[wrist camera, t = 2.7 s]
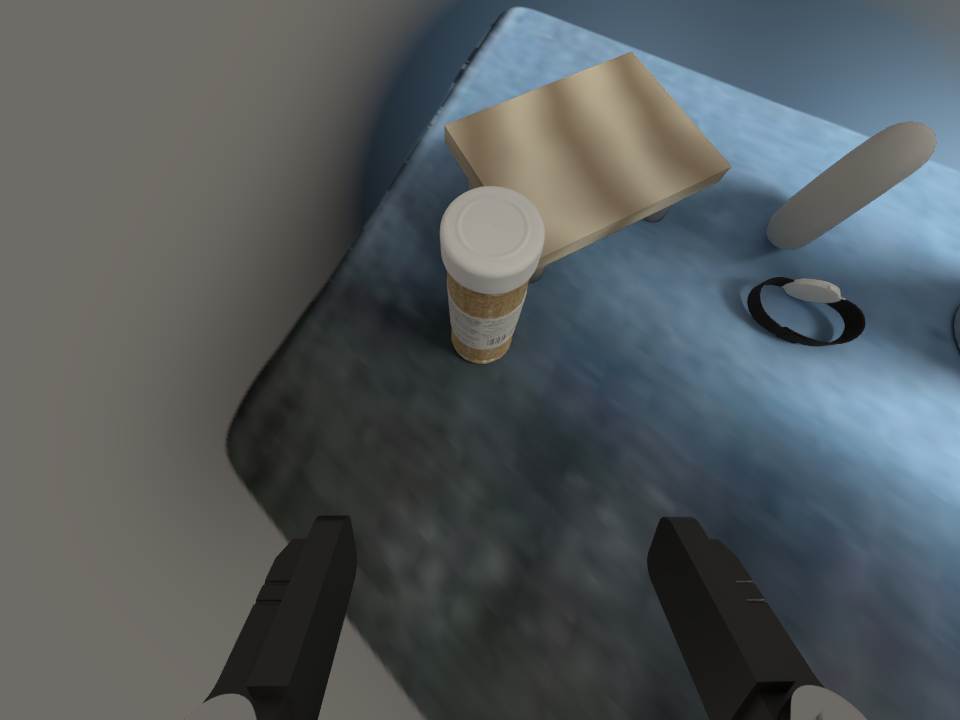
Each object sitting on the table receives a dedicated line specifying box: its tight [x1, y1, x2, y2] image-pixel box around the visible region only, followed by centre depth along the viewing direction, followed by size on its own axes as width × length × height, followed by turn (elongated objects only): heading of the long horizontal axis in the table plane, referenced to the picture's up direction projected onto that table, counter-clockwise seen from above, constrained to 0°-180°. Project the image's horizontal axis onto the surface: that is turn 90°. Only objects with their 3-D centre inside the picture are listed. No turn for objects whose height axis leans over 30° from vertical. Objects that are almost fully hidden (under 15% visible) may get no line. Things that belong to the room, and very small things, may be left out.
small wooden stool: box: [444, 52, 731, 283], centre depth 30 cm, size 16×12×6 cm
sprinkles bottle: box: [440, 186, 545, 364], centre depth 23 cm, size 5×5×13 cm
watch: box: [747, 277, 866, 346], centre depth 30 cm, size 8×5×4 cm, turn 67°
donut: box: [767, 122, 937, 250], centre depth 29 cm, size 10×4×10 cm, turn 124°
